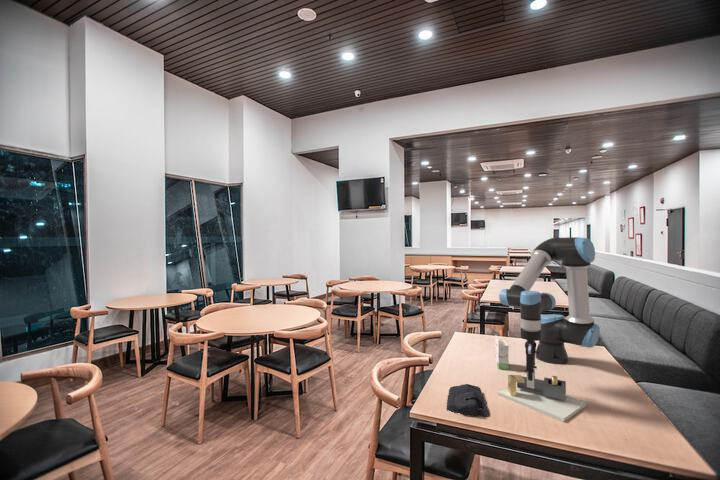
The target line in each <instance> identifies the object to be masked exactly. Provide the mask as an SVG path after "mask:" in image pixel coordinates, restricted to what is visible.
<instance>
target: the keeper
mask: <svg viewBox="0 0 720 480" xmlns="http://www.w3.org/2000/svg"><path fill="white" fill-rule="evenodd" d="M522 376H523V375H521V374H508V375H507V383H508V384H507V386H508V387H507V388H508V392H509V393H510V395H511V396H516V383H517V382H519V383H525V380H524V379H523V378H522Z"/></svg>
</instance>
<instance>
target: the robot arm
mask: <svg viewBox="0 0 720 480" xmlns="http://www.w3.org/2000/svg"><path fill="white" fill-rule="evenodd" d="M595 249H596V248H595V246H594V244H593V241H592V240H591V239H590V238H587V237H579V236H577V237H572V236H571V237H569V236H568V237H550V238H549V239H546V240H544V241H542V242H541V243H539V244H538V245H537V246H536V247H535V248H534V249H533V251H532V252H531V254H530V258H529V260H528V261H527V263H526V264H525V265H524V267H523V269H522V270H521V271H520V273H519V274H518V276H517V278H516V279H515V280H514V282H513V283H512V285H511V286H510V287H509V288H503V289H501V290H500V292H499V293H498V294H499V295H498V298H499V302H500V304H502V305H503V306H507V307H513V308H519V309H520V319H519V320H518V322H519V323H520V339H521V338H522V339H523V340H526V341H525V343H524V348H525V360H526V361H525V362H526V363H525V366H526V369H524V372H526V377H527V387H528V388H533V389H534V379H536V369H537V365H536V359H538V360H540V361H543V362H545V363H549V364H558V365H559V364H561V365H562V364H567V363H569V355H568V353H567V352H568V351H567V350H566V346H565V343H567V344H571V345H573V346H574V345H575V346H579V347H581V348H583V347H584V348H588V349H589V348H590V349H591V348H594V347H595V346H596V345H597V343H598V341H599V337H600V332H601V330H600V326H599V325H598V324H597V323H595V319H594V318H593V317H592V316H591V315H590V314H591V313H590V312H591V311H590V298H589V297H590V295H589V281H588V268H589V267H590V266H591V263H594V261H595V259H596V251H595ZM555 261H558V262H559V261H560V262H561V266H562V267H564V269H565V271H566V285H567V288H566V289H567V300H568V301H567V302H568V315H567V316H566V317H565V316H564V315H563V314H556V313H555V314H554V313H553V314H543V315H542V313H543V312H548V311H551V310H552V309H554V308H555V306H556V302H557V301H556V297H554V295H553V294H551V293H549V292H541V293H540V292H539V291H536V290H531V289H532V288H533V286H534V284H535V283H536V281H537V280H538V278H539V277H540V275H541V274H542V272H543V271H544V269H545V267H546V266H549V265H550V264H551V262H555ZM537 342H538V343H537ZM535 365H536V366H535Z"/></svg>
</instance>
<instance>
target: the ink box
mask: <svg viewBox="0 0 720 480" xmlns="http://www.w3.org/2000/svg"><path fill="white" fill-rule="evenodd" d="M494 341H495V342H494V344H495V346H494V349H495V354H494V355H495V358H494V359H495V360H494V361H495V362H494V363H495V364H496V367H497V368H498V370H499V369H500V370H510V368H509V365H510V364H509V351H510V350H509V348H510V346H509V345H508V343H507V341H506V340H500V338H499V337H498V336H497V335H496V334H495V339H494Z"/></svg>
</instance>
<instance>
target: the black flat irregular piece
mask: <svg viewBox="0 0 720 480" xmlns="http://www.w3.org/2000/svg"><path fill="white" fill-rule="evenodd" d="M449 388H450V389H449V390H448V394H449V395H447V398H448V399H447V400H446V401H447V402H446V407H447V408H446V409H447V410H446V411H448V410H449V411H448V412H450V411H451V412H455V413H454V414H458V413H460V415H462V414H463V415H462V416H467V415H470V417H482V416H483V417H488V416H489V415H490V413H489V412H490V411H489V409H488V406H487V404H486V400H485V397H484V394H483V393H482V390H481V387H480V386H478V385H473V384H472V385H471V384H469V383H465V384H460V385H454V386H450V387H449ZM480 408H482V409H480Z"/></svg>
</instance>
